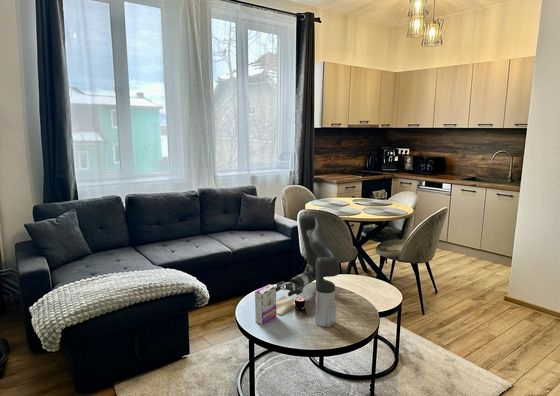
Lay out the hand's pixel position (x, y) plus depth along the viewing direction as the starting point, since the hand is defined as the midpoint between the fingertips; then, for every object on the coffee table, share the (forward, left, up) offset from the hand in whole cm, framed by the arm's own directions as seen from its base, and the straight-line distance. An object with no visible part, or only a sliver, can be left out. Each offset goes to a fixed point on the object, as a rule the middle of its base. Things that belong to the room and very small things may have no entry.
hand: (281, 292), depth 199 cm
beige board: (+2, -3, -9) cm, 10 cm away
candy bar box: (0, +14, -10) cm, 17 cm away
